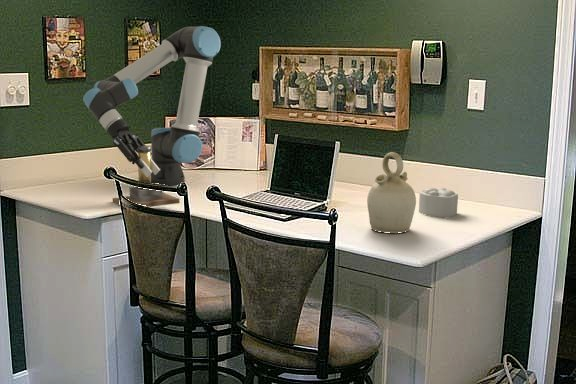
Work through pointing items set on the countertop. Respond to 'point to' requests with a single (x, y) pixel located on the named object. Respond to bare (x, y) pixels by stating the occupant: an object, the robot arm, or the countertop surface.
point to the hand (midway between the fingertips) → (153, 173)
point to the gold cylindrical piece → (145, 154)
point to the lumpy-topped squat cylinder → (438, 202)
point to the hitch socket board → (149, 197)
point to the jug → (391, 199)
